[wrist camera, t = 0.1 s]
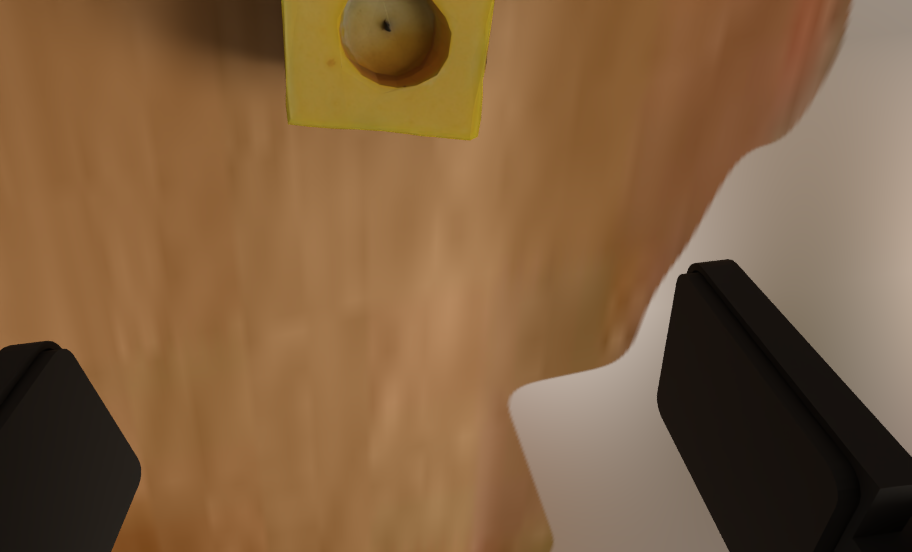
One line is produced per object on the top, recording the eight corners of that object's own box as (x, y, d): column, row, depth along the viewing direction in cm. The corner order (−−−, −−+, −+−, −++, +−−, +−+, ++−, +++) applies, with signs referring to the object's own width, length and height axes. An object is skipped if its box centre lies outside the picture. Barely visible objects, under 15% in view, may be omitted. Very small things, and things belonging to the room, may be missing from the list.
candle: (297, -124, 31) (263, -125, 23) (482, -97, 32) (514, -89, 24) (302, 71, 36) (277, 126, 28) (460, 86, 38) (479, 143, 30)
